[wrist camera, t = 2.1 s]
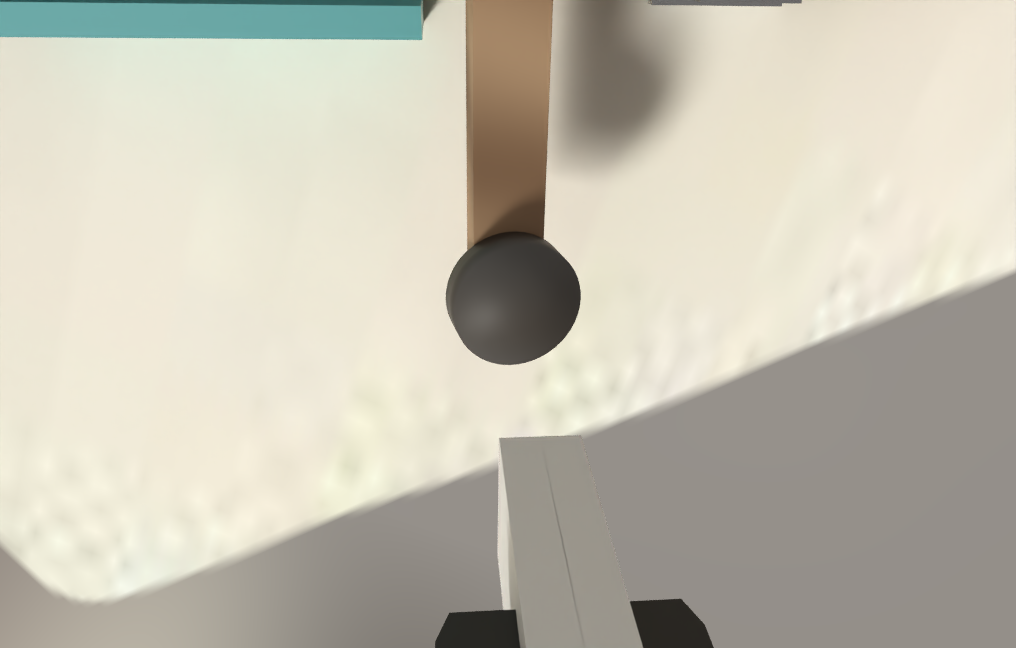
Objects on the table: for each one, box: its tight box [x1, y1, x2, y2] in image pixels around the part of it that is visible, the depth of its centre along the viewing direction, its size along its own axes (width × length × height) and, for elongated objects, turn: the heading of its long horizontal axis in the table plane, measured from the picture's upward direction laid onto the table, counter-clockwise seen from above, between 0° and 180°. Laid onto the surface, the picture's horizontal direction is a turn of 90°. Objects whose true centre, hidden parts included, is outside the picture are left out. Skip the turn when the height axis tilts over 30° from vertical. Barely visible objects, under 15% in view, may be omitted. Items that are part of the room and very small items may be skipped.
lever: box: [446, 0, 581, 365], centre depth 21 cm, size 17×17×4 cm
